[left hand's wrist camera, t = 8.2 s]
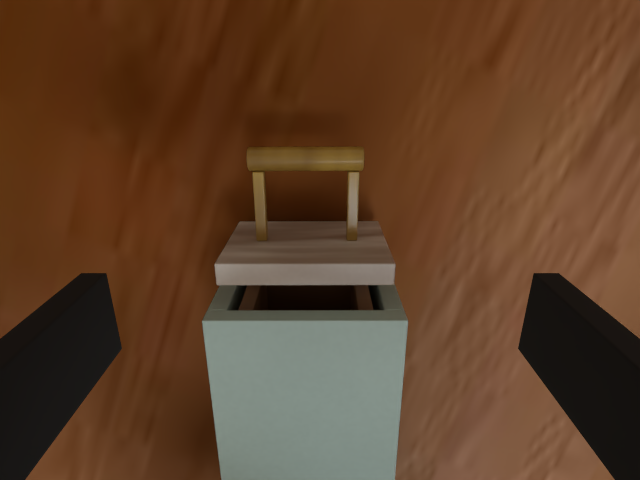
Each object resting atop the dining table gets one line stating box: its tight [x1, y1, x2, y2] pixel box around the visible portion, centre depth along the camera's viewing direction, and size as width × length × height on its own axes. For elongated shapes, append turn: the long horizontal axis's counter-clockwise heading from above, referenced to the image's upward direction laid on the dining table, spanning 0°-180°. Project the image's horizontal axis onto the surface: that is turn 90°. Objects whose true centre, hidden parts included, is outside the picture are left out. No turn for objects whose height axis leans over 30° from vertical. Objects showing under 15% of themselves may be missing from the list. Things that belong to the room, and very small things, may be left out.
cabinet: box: [202, 284, 408, 480], centre depth 28 cm, size 21×10×9 cm, turn 0°
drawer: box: [214, 147, 395, 310], centre depth 26 cm, size 25×9×7 cm, turn 0°
